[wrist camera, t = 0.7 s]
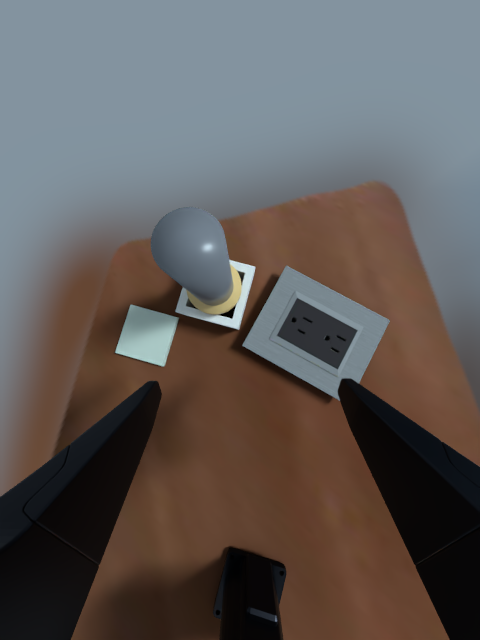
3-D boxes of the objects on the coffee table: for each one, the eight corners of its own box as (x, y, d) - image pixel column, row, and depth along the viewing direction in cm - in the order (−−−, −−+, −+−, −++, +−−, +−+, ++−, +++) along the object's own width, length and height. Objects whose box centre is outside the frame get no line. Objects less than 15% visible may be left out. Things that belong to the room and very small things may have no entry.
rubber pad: (164, 365, 22) (162, 366, 22) (118, 352, 22) (115, 352, 22) (179, 317, 23) (177, 317, 22) (133, 305, 23) (130, 304, 22)
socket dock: (238, 330, 22) (238, 329, 19) (184, 315, 23) (175, 311, 20) (253, 275, 23) (255, 266, 20) (200, 261, 23) (193, 250, 20)
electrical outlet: (242, 344, 23) (242, 345, 20) (282, 271, 23) (287, 264, 21) (337, 398, 22) (349, 406, 20) (376, 321, 23) (392, 320, 20)
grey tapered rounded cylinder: (235, 323, 22) (224, 306, 9) (191, 311, 23) (122, 278, 10) (246, 279, 23) (252, 207, 10) (203, 268, 23) (154, 183, 10)
